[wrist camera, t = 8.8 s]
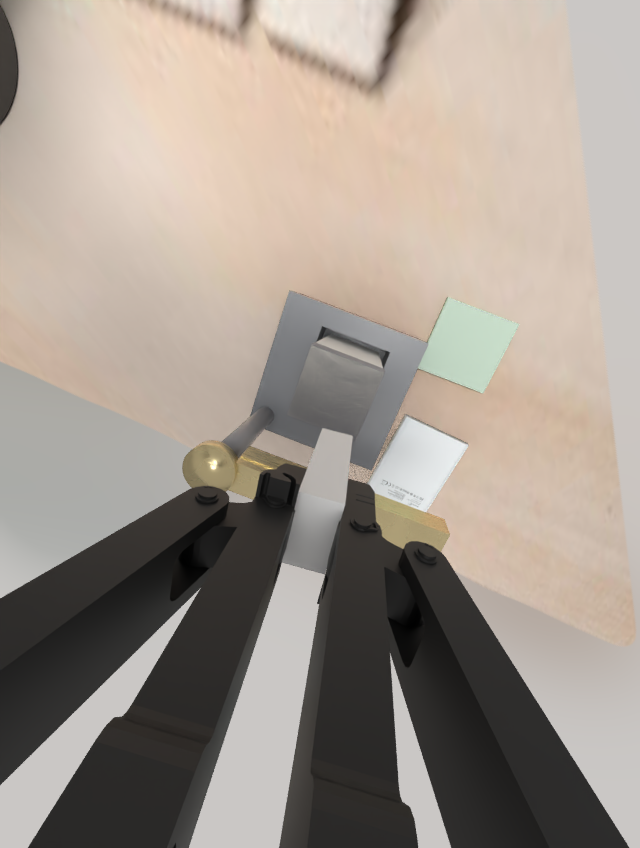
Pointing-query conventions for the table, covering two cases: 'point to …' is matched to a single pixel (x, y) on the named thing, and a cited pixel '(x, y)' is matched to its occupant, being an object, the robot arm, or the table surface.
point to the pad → (467, 345)
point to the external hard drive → (416, 464)
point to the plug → (337, 385)
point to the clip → (241, 475)
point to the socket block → (286, 360)
